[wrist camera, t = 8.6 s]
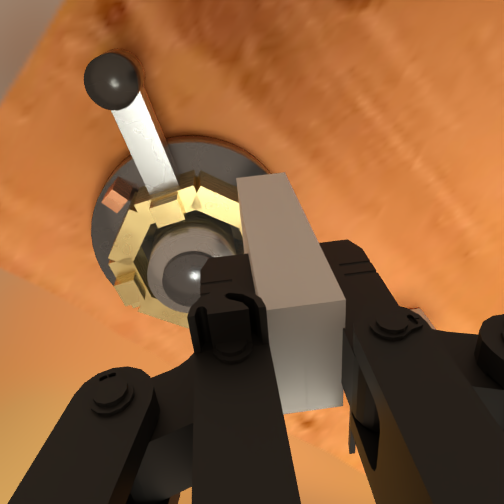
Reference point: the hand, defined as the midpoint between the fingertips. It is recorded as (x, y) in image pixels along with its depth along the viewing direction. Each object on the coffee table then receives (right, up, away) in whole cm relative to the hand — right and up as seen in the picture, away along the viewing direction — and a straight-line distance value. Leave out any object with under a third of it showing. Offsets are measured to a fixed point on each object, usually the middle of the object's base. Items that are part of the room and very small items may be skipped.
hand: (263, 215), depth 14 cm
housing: (-5, +1, +21) cm, 22 cm away
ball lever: (-6, +3, +17) cm, 18 cm away
